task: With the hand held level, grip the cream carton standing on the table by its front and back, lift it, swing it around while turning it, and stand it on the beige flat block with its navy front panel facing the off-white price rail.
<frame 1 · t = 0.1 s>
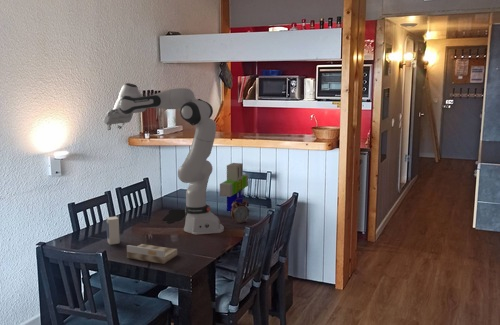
hand: (113, 129, 281), 54 cm above the table, tool tilted 30°, fingers open, 8 cm apart
beige flat block: (152, 256, 225), on the table
alarm clock: (239, 223, 280), on the table
carton: (113, 242, 245), on the table
toy: (174, 217, 293), on the table
toy 2: (234, 210, 308), on the table
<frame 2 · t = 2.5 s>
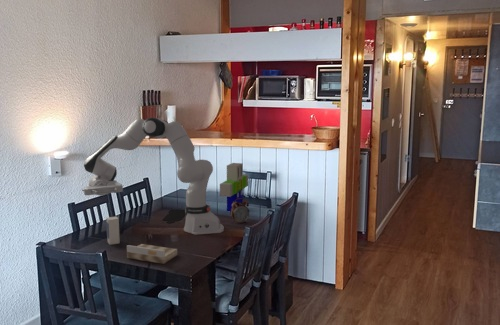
hand: (106, 192, 251), 24 cm above the table, tool horizontal, fingers open, 8 cm apart
nothing on the table moved.
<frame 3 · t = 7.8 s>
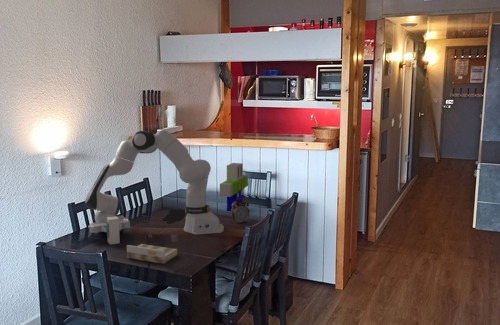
hand: (113, 229, 243), 7 cm above the table, tool horizontal, fingers closed on carton, 5 cm apart
carton: (113, 242, 245), on the table, touching gripper
everything else where it was.
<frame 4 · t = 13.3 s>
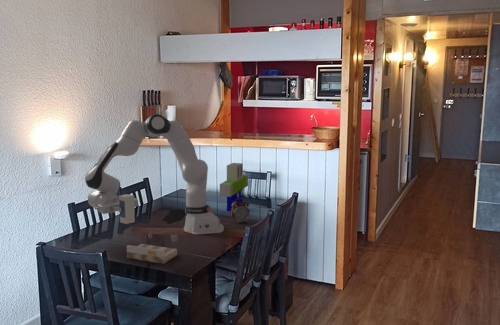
hand: (127, 208, 227), 22 cm above the table, tool horizontal, fingers closed on carton, 5 cm apart
carton: (127, 222, 229), point 15 cm above the table, touching gripper
everything else where it was.
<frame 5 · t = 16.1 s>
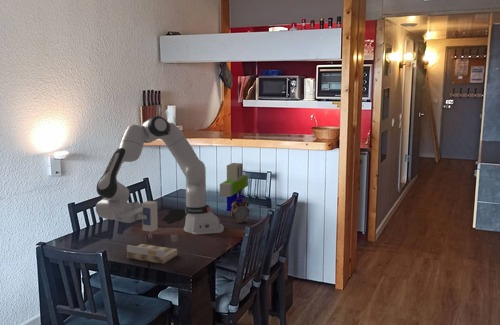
hand: (151, 215, 221), 21 cm above the table, tool horizontal, fingers closed on carton, 5 cm apart
carton: (150, 229, 222), point 14 cm above the table, touching gripper
everything else where it was.
when the fingers open (11 cm above the table, at t = 18.9 s): carton drops 1 cm, resting on beige flat block.
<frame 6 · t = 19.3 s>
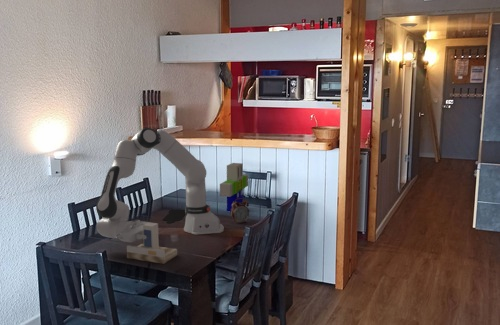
hand: (152, 234, 222), 11 cm above the table, tool horizontal, fingers open, 8 cm apart
carton: (151, 250, 224), point 3 cm above the table, touching beige flat block
everything else where it was.
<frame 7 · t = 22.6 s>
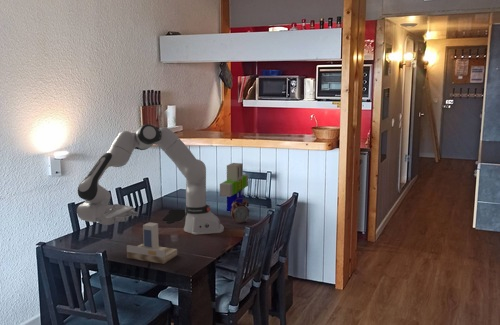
hand: (131, 216, 225), 19 cm above the table, tool horizontal, fingers open, 8 cm apart
nothing on the table moved.
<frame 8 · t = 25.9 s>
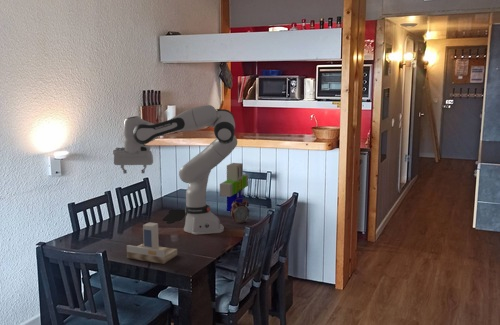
hand: (134, 173, 251), 34 cm above the table, tool pointing down, fingers open, 8 cm apart
nothing on the table moved.
at the end: carton inside the target area on the beige flat block (0.3 cm from its centre), point 3.0 cm above the beige flat block's base; carton tilted 0°; the gripper is holding nothing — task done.
